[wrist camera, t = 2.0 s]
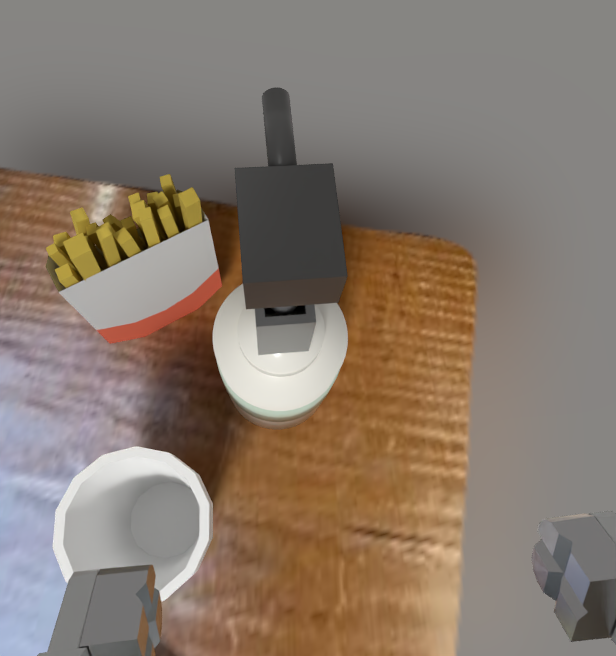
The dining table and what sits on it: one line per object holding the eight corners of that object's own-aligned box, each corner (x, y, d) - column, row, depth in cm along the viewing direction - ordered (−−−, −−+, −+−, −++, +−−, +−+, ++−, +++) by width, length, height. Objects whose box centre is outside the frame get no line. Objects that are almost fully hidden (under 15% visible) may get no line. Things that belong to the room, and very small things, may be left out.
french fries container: (95, 309, 51) (9, 213, 34) (201, 257, 54) (170, 142, 36) (117, 351, 50) (40, 274, 33) (224, 296, 53) (203, 196, 35)
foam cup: (114, 462, 48) (61, 449, 35) (224, 458, 48) (209, 443, 36) (107, 584, 45) (46, 616, 32) (224, 578, 45) (208, 606, 33)
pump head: (250, 347, 30) (243, 283, 21) (239, 198, 32) (228, 85, 24) (324, 341, 30) (347, 276, 21) (307, 194, 33) (322, 82, 24)
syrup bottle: (229, 435, 49) (201, 387, 28) (223, 334, 52) (193, 224, 31) (333, 425, 50) (379, 372, 29) (322, 327, 52) (357, 215, 32)
